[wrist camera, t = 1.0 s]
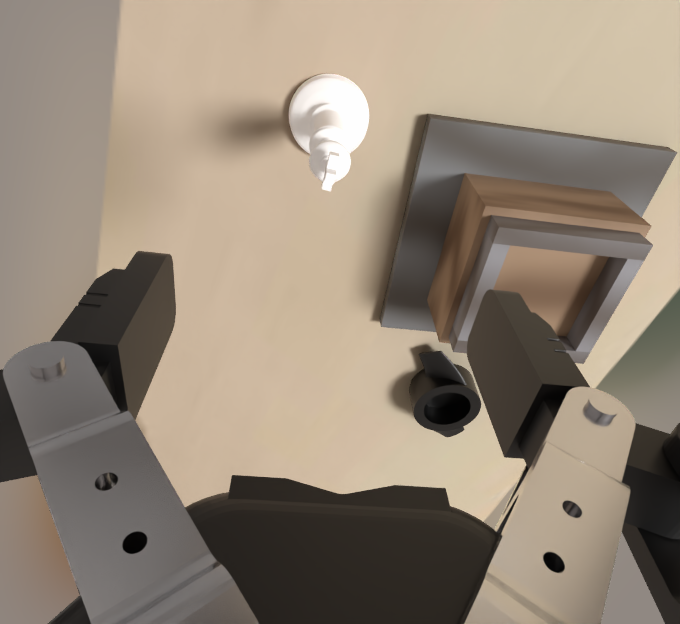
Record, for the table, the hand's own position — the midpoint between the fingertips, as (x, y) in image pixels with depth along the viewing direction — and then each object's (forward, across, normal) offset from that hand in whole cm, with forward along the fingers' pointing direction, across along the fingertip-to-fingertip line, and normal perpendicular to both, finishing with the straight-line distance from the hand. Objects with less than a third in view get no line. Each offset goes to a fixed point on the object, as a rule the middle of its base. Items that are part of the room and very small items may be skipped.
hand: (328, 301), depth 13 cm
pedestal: (+21, -14, +7) cm, 26 cm away
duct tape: (+22, -13, +22) cm, 34 cm away
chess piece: (+21, 0, 0) cm, 21 cm away
